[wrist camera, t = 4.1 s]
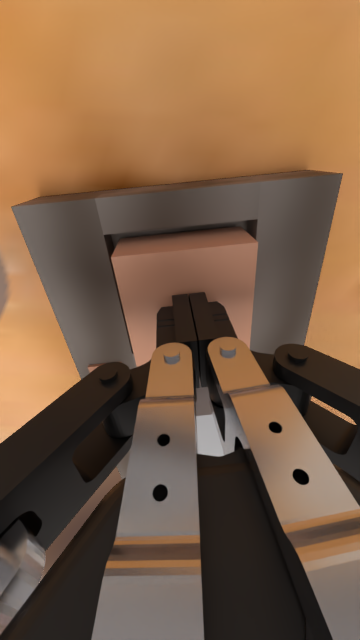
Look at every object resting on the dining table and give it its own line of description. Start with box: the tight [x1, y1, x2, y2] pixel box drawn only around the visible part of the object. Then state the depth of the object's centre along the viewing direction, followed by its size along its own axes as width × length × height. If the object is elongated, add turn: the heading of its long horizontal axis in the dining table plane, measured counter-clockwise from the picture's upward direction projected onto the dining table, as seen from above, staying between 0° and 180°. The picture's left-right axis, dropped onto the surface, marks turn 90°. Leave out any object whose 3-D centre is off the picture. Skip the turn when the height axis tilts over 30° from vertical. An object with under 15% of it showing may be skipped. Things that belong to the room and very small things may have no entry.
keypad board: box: [11, 170, 343, 479], centre depth 19 cm, size 14×27×3 cm, turn 5°
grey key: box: [196, 377, 224, 457], centre depth 17 cm, size 6×6×3 cm
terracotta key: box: [111, 226, 258, 367], centre depth 13 cm, size 6×6×3 cm
